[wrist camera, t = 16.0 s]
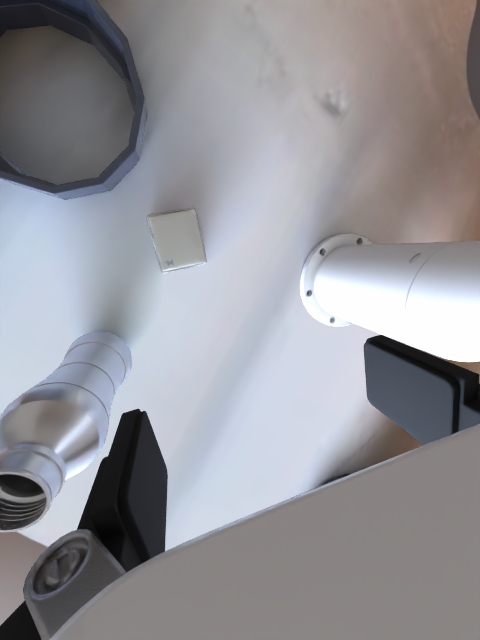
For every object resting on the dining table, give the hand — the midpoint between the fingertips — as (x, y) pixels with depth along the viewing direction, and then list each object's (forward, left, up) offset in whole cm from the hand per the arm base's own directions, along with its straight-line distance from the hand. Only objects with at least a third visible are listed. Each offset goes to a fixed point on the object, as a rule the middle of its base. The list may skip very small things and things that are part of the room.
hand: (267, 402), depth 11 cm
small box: (+1, -7, -24) cm, 25 cm away
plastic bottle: (+13, +3, -24) cm, 27 cm away
